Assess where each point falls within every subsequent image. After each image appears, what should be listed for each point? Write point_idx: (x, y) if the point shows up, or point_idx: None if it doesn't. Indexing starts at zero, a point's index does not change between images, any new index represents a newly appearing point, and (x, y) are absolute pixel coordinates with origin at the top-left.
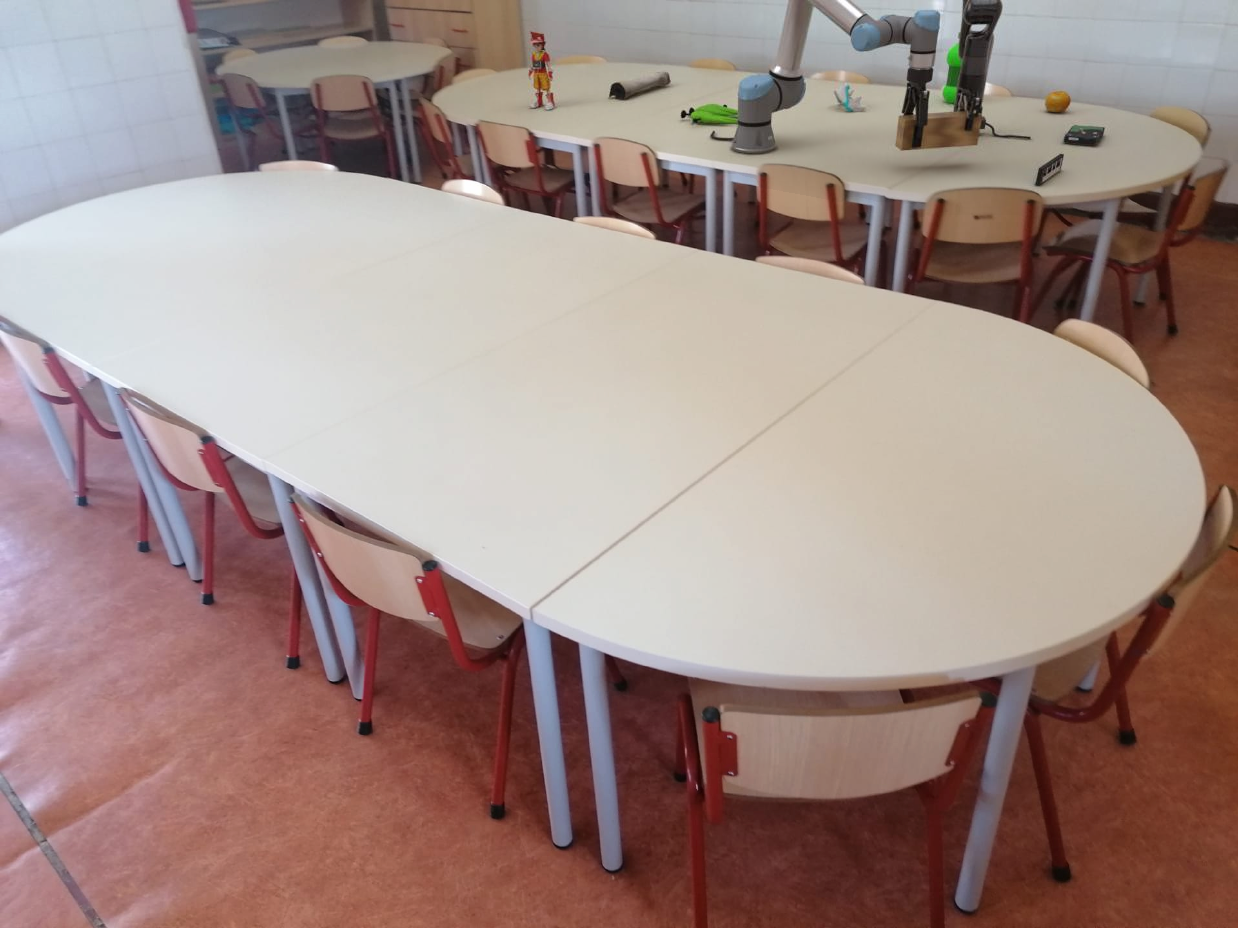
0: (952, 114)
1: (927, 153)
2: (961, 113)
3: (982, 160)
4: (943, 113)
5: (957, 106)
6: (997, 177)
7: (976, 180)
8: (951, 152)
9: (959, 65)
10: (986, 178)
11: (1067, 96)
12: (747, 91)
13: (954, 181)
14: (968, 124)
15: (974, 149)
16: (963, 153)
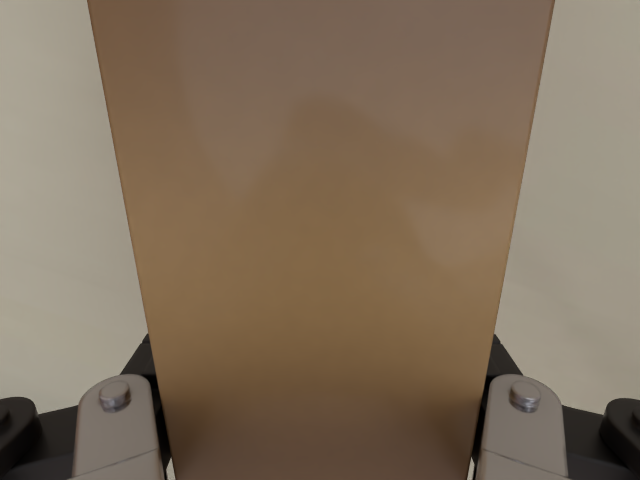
0: (304, 226)
1: (610, 115)
2: (329, 384)
3: None
4: (443, 72)
5: (630, 445)
6: (88, 311)
7: (36, 201)
8: (562, 255)
9: None
10: (72, 260)
11: None
12: None
13: (13, 72)
14: (142, 347)
15: (557, 371)
16: (517, 304)
